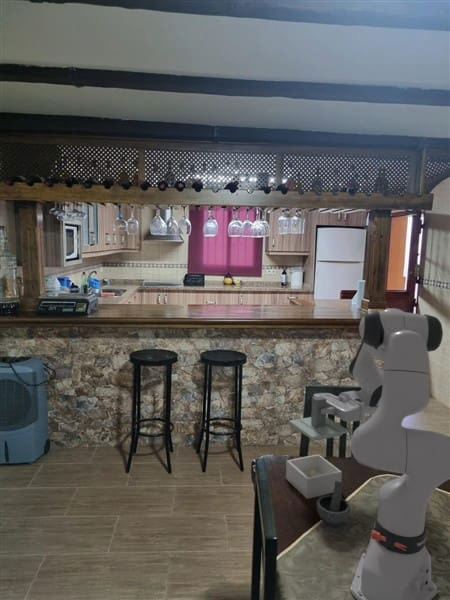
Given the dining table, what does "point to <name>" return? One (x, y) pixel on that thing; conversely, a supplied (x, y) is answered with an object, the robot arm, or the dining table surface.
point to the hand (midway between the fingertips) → (316, 408)
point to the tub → (312, 475)
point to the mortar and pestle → (333, 509)
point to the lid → (318, 423)
